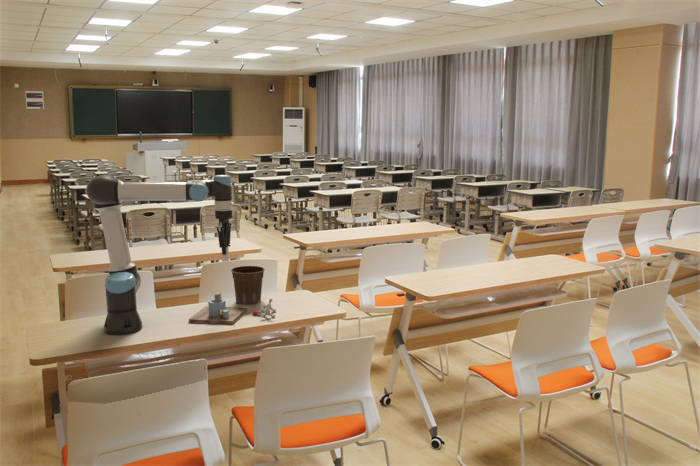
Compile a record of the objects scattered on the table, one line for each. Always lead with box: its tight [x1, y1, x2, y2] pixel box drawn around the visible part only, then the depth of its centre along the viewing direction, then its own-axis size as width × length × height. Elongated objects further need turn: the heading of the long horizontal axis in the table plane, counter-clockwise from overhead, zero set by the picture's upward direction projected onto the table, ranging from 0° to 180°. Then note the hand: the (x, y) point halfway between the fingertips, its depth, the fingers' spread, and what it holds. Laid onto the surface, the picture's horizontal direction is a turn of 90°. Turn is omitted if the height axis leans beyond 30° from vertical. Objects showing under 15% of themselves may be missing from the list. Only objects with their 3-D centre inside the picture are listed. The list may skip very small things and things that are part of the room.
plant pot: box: [230, 265, 266, 305], centre depth 291 cm, size 16×16×16 cm
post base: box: [188, 292, 248, 325], centre depth 267 cm, size 20×20×10 cm
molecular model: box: [252, 298, 277, 319], centre depth 270 cm, size 14×8×10 cm
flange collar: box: [207, 298, 229, 318], centre depth 264 cm, size 12×7×6 cm, turn 43°
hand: (225, 261), depth 269 cm, fingers closed
